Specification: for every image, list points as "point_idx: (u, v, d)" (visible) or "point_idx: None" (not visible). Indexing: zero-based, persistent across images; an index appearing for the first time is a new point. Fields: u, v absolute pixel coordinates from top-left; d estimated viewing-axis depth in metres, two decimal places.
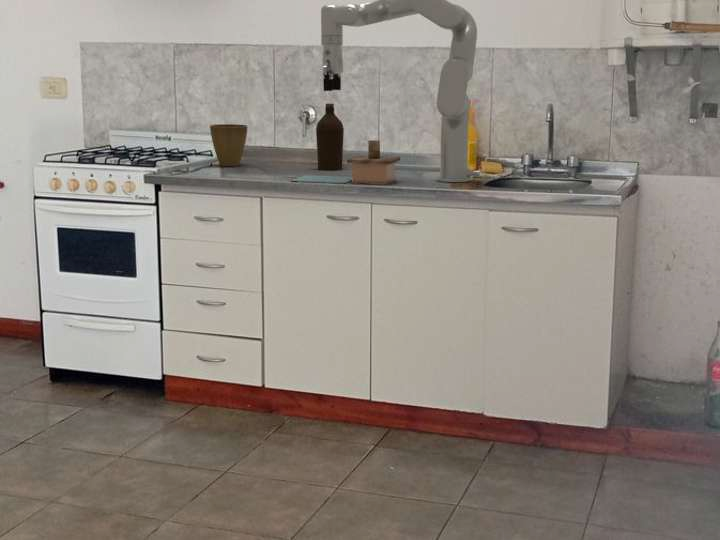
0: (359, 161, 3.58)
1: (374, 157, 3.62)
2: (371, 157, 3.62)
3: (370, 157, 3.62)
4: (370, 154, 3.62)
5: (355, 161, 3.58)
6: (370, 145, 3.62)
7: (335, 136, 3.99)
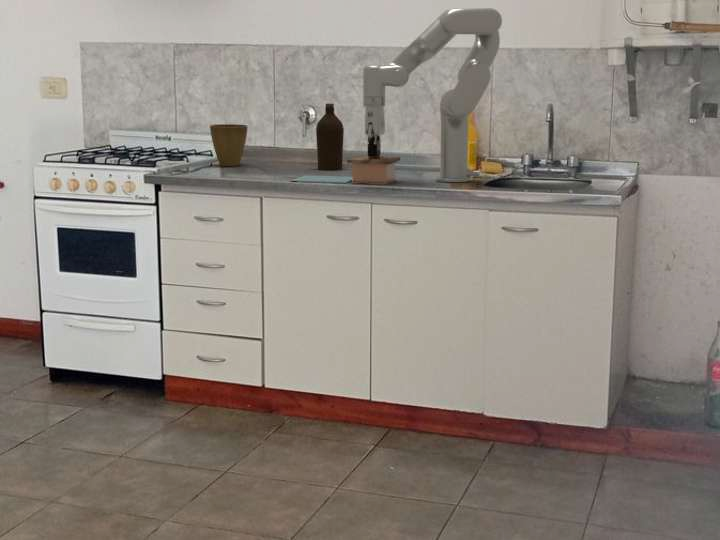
0: (359, 161, 3.58)
1: (374, 157, 3.62)
2: (371, 157, 3.62)
3: (370, 157, 3.62)
4: None
5: (355, 161, 3.58)
6: None
7: (335, 136, 3.99)
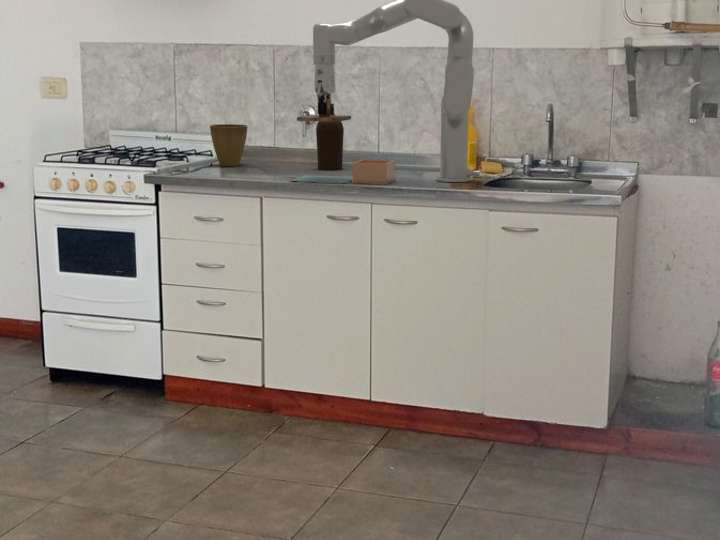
0: (309, 118, 3.60)
1: (324, 115, 3.64)
2: (321, 115, 3.65)
3: (320, 115, 3.65)
4: None
5: (305, 119, 3.61)
6: None
7: (335, 136, 3.99)
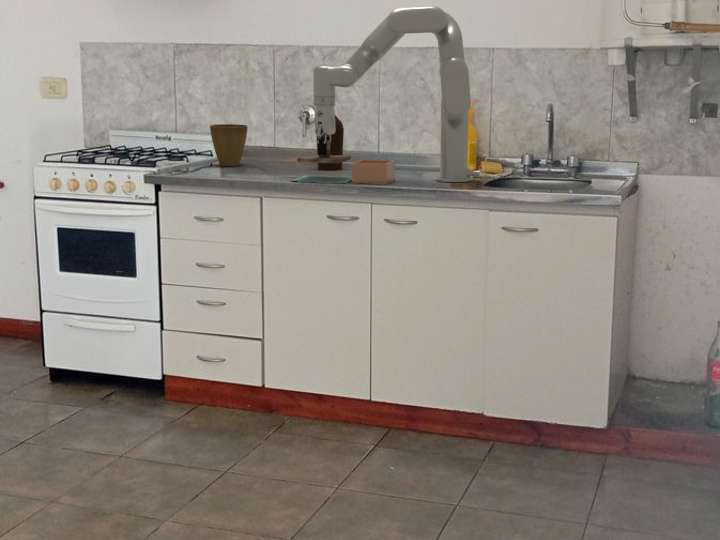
0: (309, 160, 3.63)
1: (324, 156, 3.67)
2: (321, 156, 3.67)
3: (320, 156, 3.68)
4: None
5: (305, 160, 3.63)
6: None
7: (335, 136, 3.99)
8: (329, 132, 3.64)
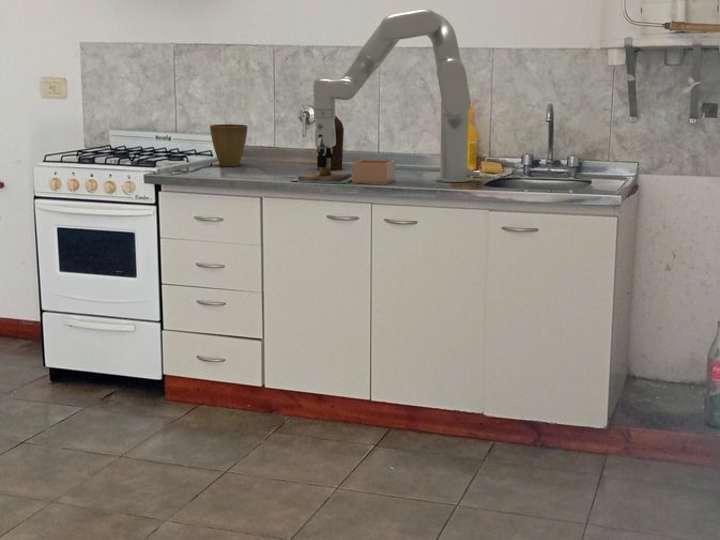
0: (309, 178, 3.64)
1: (325, 174, 3.68)
2: (322, 174, 3.69)
3: (321, 174, 3.69)
4: (321, 171, 3.69)
5: (306, 178, 3.65)
6: None
7: None
8: (329, 145, 3.65)
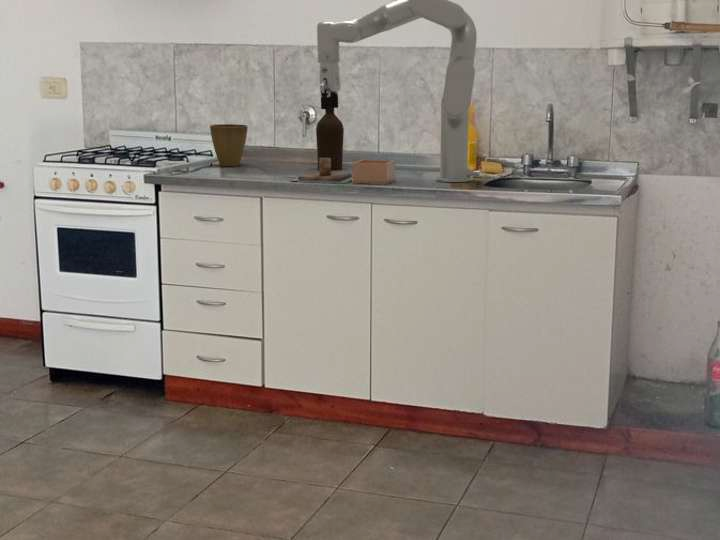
0: (309, 178, 3.64)
1: (325, 174, 3.68)
2: (322, 174, 3.69)
3: (321, 174, 3.69)
4: (321, 171, 3.69)
5: (306, 178, 3.65)
6: (321, 162, 3.68)
7: (335, 136, 3.99)
8: (334, 88, 3.62)
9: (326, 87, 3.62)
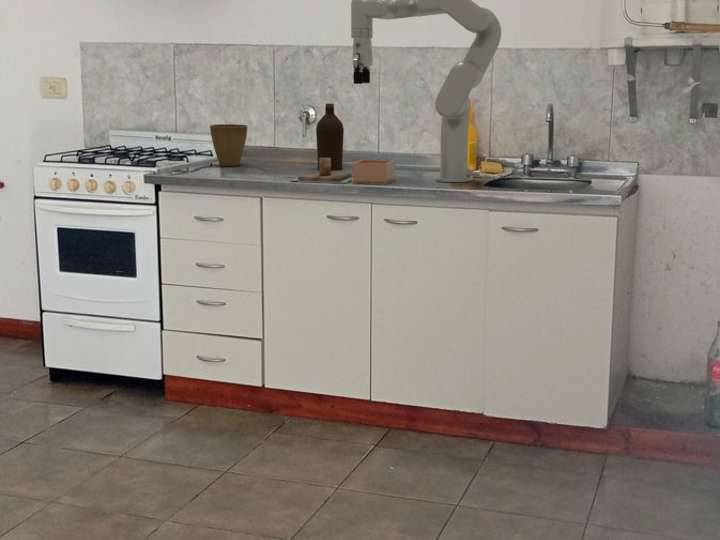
0: (309, 178, 3.64)
1: (325, 174, 3.68)
2: (322, 174, 3.69)
3: (321, 174, 3.69)
4: (321, 171, 3.69)
5: (306, 178, 3.65)
6: (321, 162, 3.68)
7: (335, 136, 3.99)
8: (367, 63, 3.68)
9: (359, 62, 3.69)
